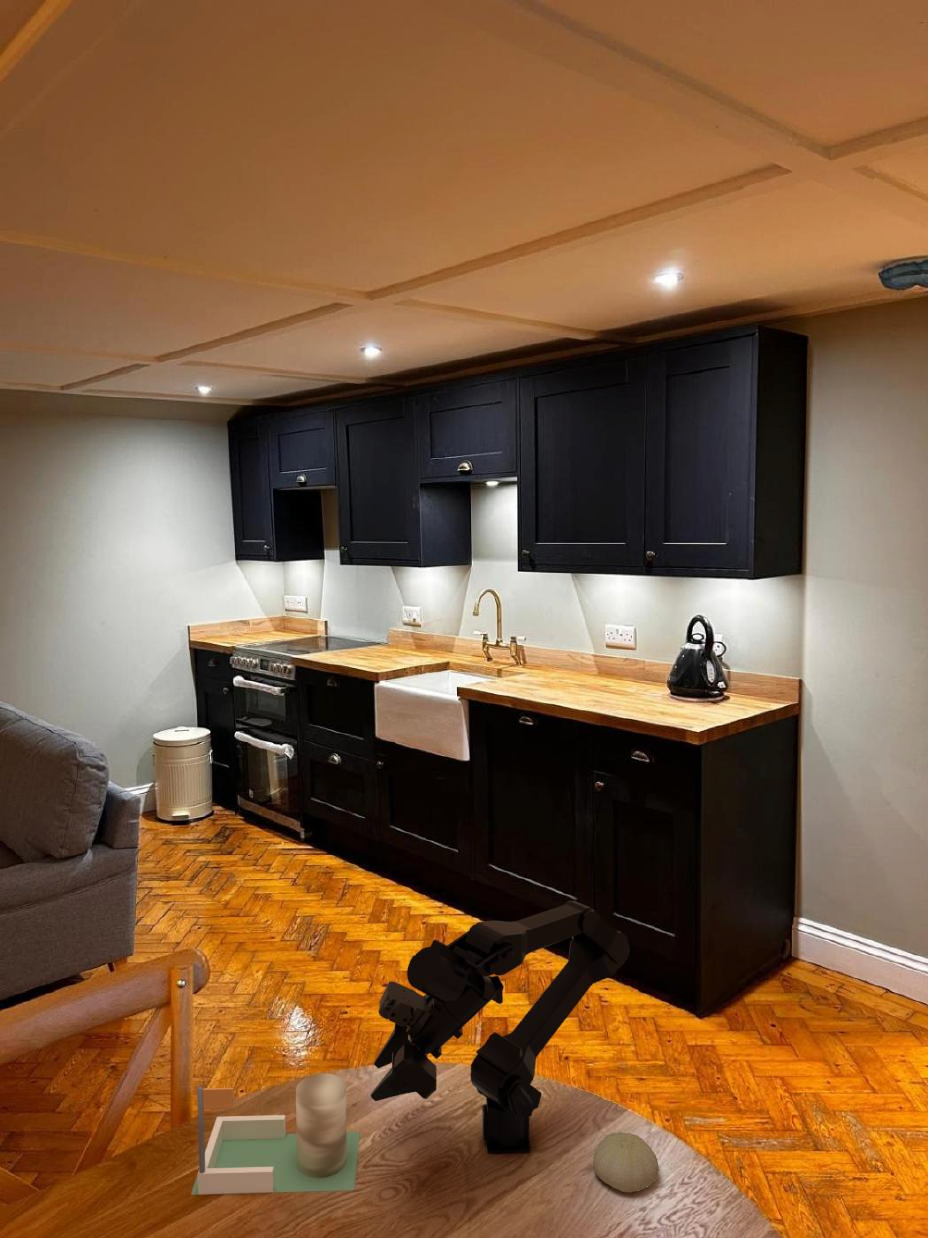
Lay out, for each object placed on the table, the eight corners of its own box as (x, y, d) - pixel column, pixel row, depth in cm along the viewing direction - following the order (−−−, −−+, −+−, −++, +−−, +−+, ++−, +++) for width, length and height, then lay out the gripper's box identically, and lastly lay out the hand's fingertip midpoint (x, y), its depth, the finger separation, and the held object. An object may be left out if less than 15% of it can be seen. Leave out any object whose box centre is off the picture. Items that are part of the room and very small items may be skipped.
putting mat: (359, 1138, 138) (359, 1132, 138) (354, 1197, 126) (354, 1190, 126) (210, 1142, 137) (210, 1136, 137) (190, 1201, 125) (190, 1194, 125)
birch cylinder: (348, 1143, 135) (347, 1073, 134) (344, 1177, 128) (343, 1103, 127) (300, 1145, 135) (299, 1074, 134) (293, 1179, 128) (292, 1104, 127)
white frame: (285, 1134, 137) (284, 1038, 136) (272, 1192, 126) (270, 1088, 124) (217, 1135, 137) (215, 1040, 135) (198, 1194, 125) (195, 1090, 123)
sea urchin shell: (654, 1138, 136) (659, 1127, 130) (657, 1201, 131) (663, 1193, 125) (591, 1134, 137) (593, 1122, 131) (592, 1196, 132) (594, 1188, 126)
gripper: (414, 939, 139) (340, 1009, 140) (411, 1002, 120) (326, 1083, 121) (465, 988, 140) (392, 1058, 141) (471, 1059, 121) (386, 1139, 122)
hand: (374, 1081), depth 131 cm, fingers open, 7 cm apart
